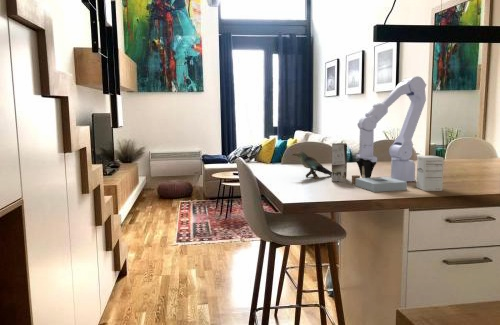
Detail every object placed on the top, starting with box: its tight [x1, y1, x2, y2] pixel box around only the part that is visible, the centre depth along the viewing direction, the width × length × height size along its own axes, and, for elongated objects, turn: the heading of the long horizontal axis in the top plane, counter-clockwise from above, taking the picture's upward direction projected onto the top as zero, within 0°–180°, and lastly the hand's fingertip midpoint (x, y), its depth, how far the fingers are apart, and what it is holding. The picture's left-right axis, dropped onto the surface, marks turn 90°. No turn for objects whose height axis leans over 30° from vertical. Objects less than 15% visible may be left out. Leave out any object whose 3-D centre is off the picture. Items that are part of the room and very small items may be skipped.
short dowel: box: [351, 174, 361, 185], centre depth 173 cm, size 3×3×4 cm
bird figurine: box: [292, 150, 332, 180], centre depth 192 cm, size 13×10×20 cm
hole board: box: [354, 176, 408, 193], centre depth 164 cm, size 14×14×3 cm
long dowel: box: [361, 166, 365, 178], centre depth 179 cm, size 3×3×6 cm
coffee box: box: [331, 142, 348, 183], centre depth 183 cm, size 9×6×16 cm
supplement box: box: [415, 155, 445, 192], centre depth 160 cm, size 7×7×13 cm
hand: (365, 177), depth 179 cm, fingers closed on long dowel, 3 cm apart
